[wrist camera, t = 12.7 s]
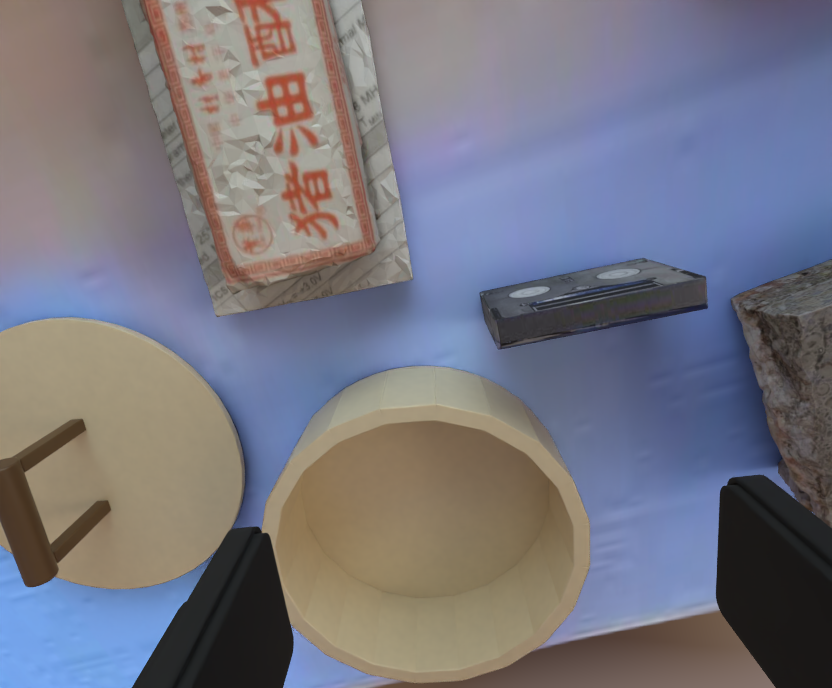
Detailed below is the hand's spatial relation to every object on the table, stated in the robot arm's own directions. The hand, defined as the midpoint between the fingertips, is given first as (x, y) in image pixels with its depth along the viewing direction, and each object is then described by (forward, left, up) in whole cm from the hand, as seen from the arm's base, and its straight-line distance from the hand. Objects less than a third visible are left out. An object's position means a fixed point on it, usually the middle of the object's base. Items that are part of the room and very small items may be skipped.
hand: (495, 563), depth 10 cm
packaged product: (+7, -12, -17) cm, 22 cm away
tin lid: (+20, +5, -16) cm, 27 cm away
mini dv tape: (-6, -2, -17) cm, 18 cm away
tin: (+2, +9, -17) cm, 19 cm away
